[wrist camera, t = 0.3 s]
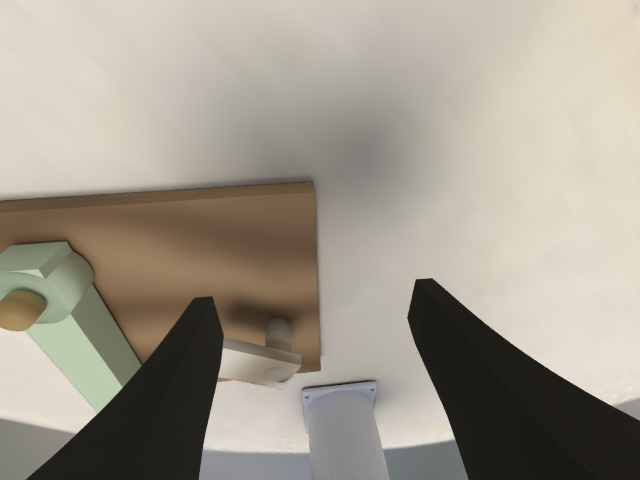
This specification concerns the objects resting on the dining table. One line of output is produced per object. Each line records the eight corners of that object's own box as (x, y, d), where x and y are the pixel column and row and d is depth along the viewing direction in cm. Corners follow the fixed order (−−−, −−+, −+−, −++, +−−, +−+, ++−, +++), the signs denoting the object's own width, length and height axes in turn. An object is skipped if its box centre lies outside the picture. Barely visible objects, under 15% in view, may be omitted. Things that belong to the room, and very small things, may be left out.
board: (319, 356, 29) (326, 417, 25) (100, 379, 28) (64, 448, 23) (312, 181, 19) (322, 230, 14) (-35, 203, 18) (-147, 265, 13)
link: (1, 246, 17) (-36, 275, 15) (75, 240, 18) (48, 268, 16) (107, 385, 26) (92, 416, 24) (156, 380, 26) (146, 410, 24)
